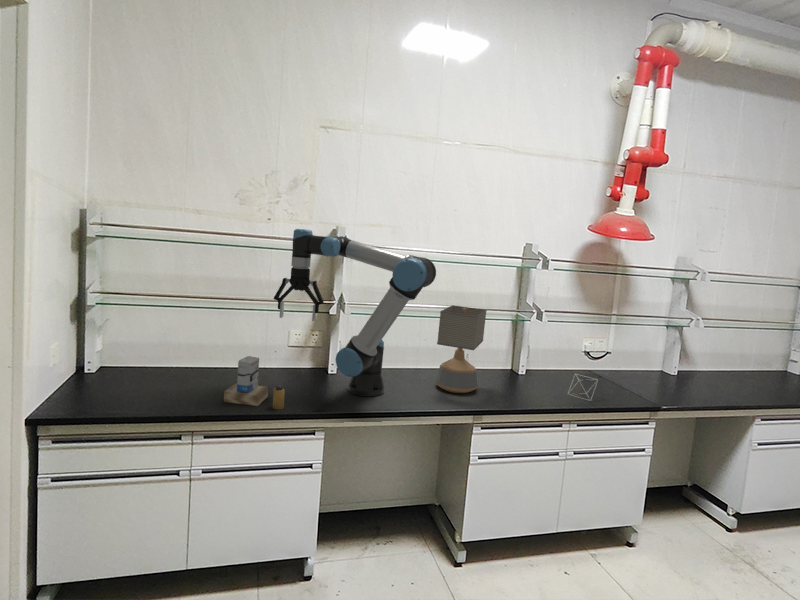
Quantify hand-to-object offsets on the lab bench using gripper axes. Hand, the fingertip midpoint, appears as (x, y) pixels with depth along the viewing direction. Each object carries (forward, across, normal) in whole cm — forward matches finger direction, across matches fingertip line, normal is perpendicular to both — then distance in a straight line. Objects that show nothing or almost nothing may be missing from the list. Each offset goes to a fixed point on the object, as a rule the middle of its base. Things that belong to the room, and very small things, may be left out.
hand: (297, 319), depth 221 cm
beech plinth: (+29, +12, +21) cm, 38 cm away
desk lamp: (+29, -68, -23) cm, 77 cm away
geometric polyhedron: (+29, -126, -34) cm, 134 cm away
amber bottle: (+29, -2, +26) cm, 39 cm away
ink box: (+25, +12, +21) cm, 35 cm away
